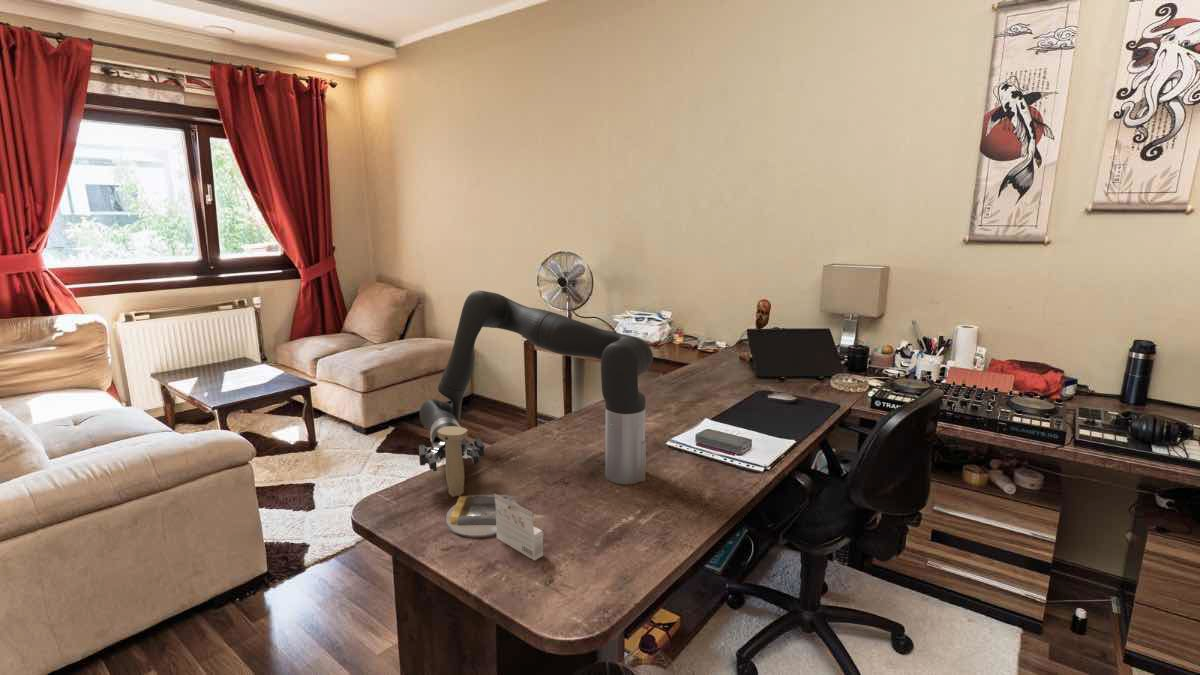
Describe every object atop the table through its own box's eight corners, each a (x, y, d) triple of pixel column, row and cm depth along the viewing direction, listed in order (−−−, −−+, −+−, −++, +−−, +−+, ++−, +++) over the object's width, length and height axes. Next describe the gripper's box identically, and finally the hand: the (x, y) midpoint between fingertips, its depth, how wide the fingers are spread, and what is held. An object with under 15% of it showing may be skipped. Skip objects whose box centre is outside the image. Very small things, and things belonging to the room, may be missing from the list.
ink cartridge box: (505, 533, 113) (503, 488, 111) (544, 556, 106) (543, 507, 104) (495, 539, 111) (493, 492, 109) (534, 562, 104) (532, 513, 102)
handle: (449, 486, 132) (445, 425, 128) (474, 491, 130) (471, 428, 126) (437, 496, 127) (433, 432, 124) (463, 501, 125) (459, 436, 122)
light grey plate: (524, 498, 126) (524, 488, 126) (515, 537, 112) (515, 525, 111) (456, 499, 126) (455, 488, 126) (438, 537, 111) (437, 526, 111)
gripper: (415, 426, 137) (419, 452, 122) (475, 418, 141) (487, 443, 127) (417, 455, 138) (422, 485, 123) (477, 446, 143) (489, 474, 128)
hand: (455, 464), depth 125 cm, fingers open, 8 cm apart
